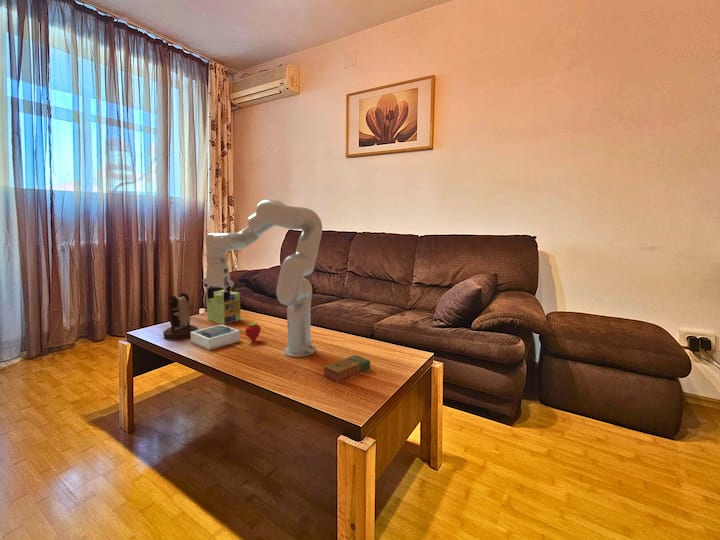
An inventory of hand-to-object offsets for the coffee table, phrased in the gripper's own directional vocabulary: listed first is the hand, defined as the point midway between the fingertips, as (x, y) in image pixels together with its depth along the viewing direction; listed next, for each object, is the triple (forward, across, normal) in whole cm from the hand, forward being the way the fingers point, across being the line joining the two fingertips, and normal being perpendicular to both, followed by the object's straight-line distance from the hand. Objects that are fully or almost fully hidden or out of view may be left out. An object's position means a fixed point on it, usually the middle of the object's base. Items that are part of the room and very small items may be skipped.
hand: (218, 299), depth 154 cm
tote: (+20, +2, +1) cm, 20 cm away
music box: (+20, +24, +1) cm, 31 cm away
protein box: (+20, +25, -27) cm, 42 cm away
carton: (+21, -66, +4) cm, 69 cm away
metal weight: (+19, +2, +1) cm, 19 cm away
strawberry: (+20, -12, -7) cm, 25 cm away
